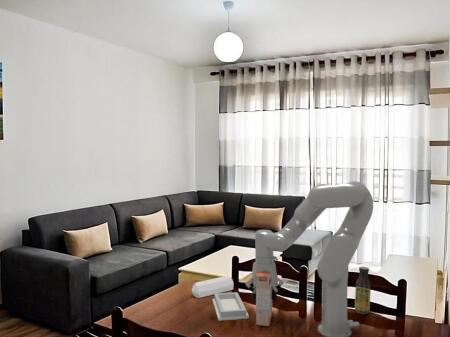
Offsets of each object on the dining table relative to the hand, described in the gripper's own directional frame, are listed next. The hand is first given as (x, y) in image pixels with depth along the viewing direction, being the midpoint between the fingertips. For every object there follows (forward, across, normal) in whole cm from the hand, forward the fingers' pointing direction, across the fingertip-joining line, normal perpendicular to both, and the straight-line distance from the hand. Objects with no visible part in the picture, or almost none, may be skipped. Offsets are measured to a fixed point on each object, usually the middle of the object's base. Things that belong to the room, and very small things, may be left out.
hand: (264, 300), depth 168 cm
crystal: (+8, +18, -36) cm, 41 cm away
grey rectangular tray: (+8, +13, -13) cm, 20 cm away
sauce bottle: (+8, -44, 0) cm, 45 cm away
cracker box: (+8, 0, 0) cm, 8 cm away
